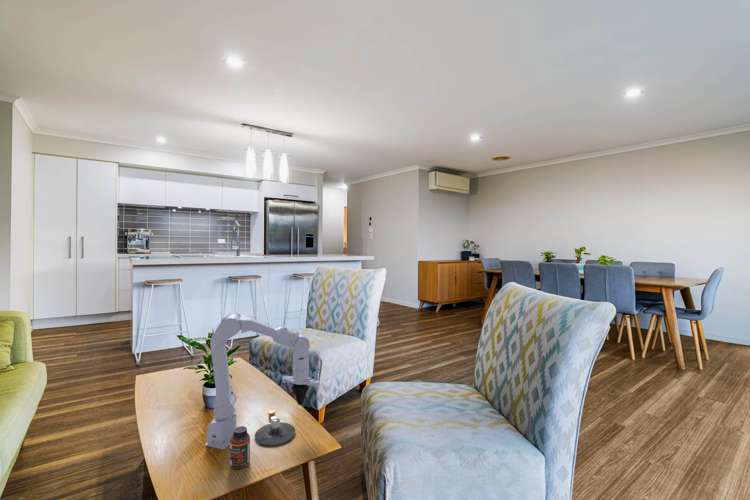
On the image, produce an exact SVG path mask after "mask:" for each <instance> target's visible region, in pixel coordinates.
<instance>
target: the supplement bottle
mask: <svg viewBox="0 0 750 500" xmlns="http://www.w3.org/2000/svg"><path fill="white" fill-rule="evenodd" d="M250 461H251V435H250V433H248V427H247V426H244V425H239V426H236V428H235V429H234V431H233V436H232V437H231V439H230V445H229V466H230V468H231V469H233V470H241V469H245V468H246V467H247V466H249V464H250V463H251V462H250Z"/></svg>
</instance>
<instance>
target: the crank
mask: <svg viewBox="0 0 750 500" xmlns="http://www.w3.org/2000/svg"><path fill="white" fill-rule="evenodd" d="M267 413H268V415H267V417H268V418H267V419H268V422H269V423H268V424H271V433H272V434H277V433H279V432H280V421H281V418H279V417H276V412H275V409H273V410H272V409H270V410H268V412H267Z"/></svg>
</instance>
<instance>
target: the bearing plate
mask: <svg viewBox="0 0 750 500" xmlns="http://www.w3.org/2000/svg"><path fill="white" fill-rule="evenodd" d="M295 435H296V429H295V427H294V426H293V425H292V424H291V423H288V422H280V432H279V433H277V434H272V433H271V423H268V424H265V425H262V426H261V427H260V428H258V429H257V430H256V431H255V433H254V440H255V443H257V444H258V445H260V446H263V447H276V446H277V447H278V446H281V445H284V444H287V443H288V442H290V441H291V440H293V438H294V437H295Z"/></svg>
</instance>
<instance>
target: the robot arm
mask: <svg viewBox="0 0 750 500" xmlns="http://www.w3.org/2000/svg"><path fill="white" fill-rule="evenodd" d="M240 331H241V332H240ZM248 332H253V333H257V334H260V335H263V336H267V337H270V338H272V340H273V342H274V343H275V344H279V345H281V346H284V347H287V348H288V349H289V348H290V349H291V348H292V349H293V356H292V375H291V376H290V375H285V376H283V377H282V379H281V381H282V382H281V383H282V384H286V383H287V384H293V385H292V386H291V390H292V391H293V394H294V395H295V398H296V399H295V400H296V401H297V402H296V403H297V405H298V406H302V405H303V404H305V400H306V399H305V398H306V394H307V392H308V391H309V388H310V387H314V388H316V389H318V388H319V387H320V386H321V385H320V384H321V383H320V382H321V381H320V380H317V379H314V378H312V377H309V374H310V370H309V369H310V364H309V363H310V360H309V359H310V355H309V351H310V350H309V349H310V347H311V344H310V341H309V338H308V336H307V335H306V334H304V332H303V333H302V332H298V331H296V332H295V331H293V330H290V329H288V327H287V326H279V327H272V326H270V325H269V324H267V323H263V322H261V321H259V320H257V319H254V318H252V317H249V316H247V315H244V314H240V313H237V312H231V313H229V314H227V315H226V316H225V317H223V319H222V320H221V321H220V323H219V324H218V325H217V328H215V330H214V333H213V334H212V336H211V338H210V341H209V343H210V353H211V354H210V355H211V362H212V369H213V377H214V384H215V385H214V386H215V404H214V408H213V418H212V421H211V422H209V423H208V425H207V427H206V428H207V429H206V442H205V444H204V445H205V447H206V446H207V447H210V448H214V449H220V450H226V449H227V448H228V447H230V439H231V437H232V436H233V431H234V429H235V428H237V410H236V409H235V405H236V404H235V403H236V401H237V395H236V393H235V392H234V391H233V386H232V385H231V377H230V368H229V359H228V352H227V344H226V343H228V341H229V340H230V339H231V338H232V337H234V336H237V335H238V333H241V334H243V333H248Z"/></svg>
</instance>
